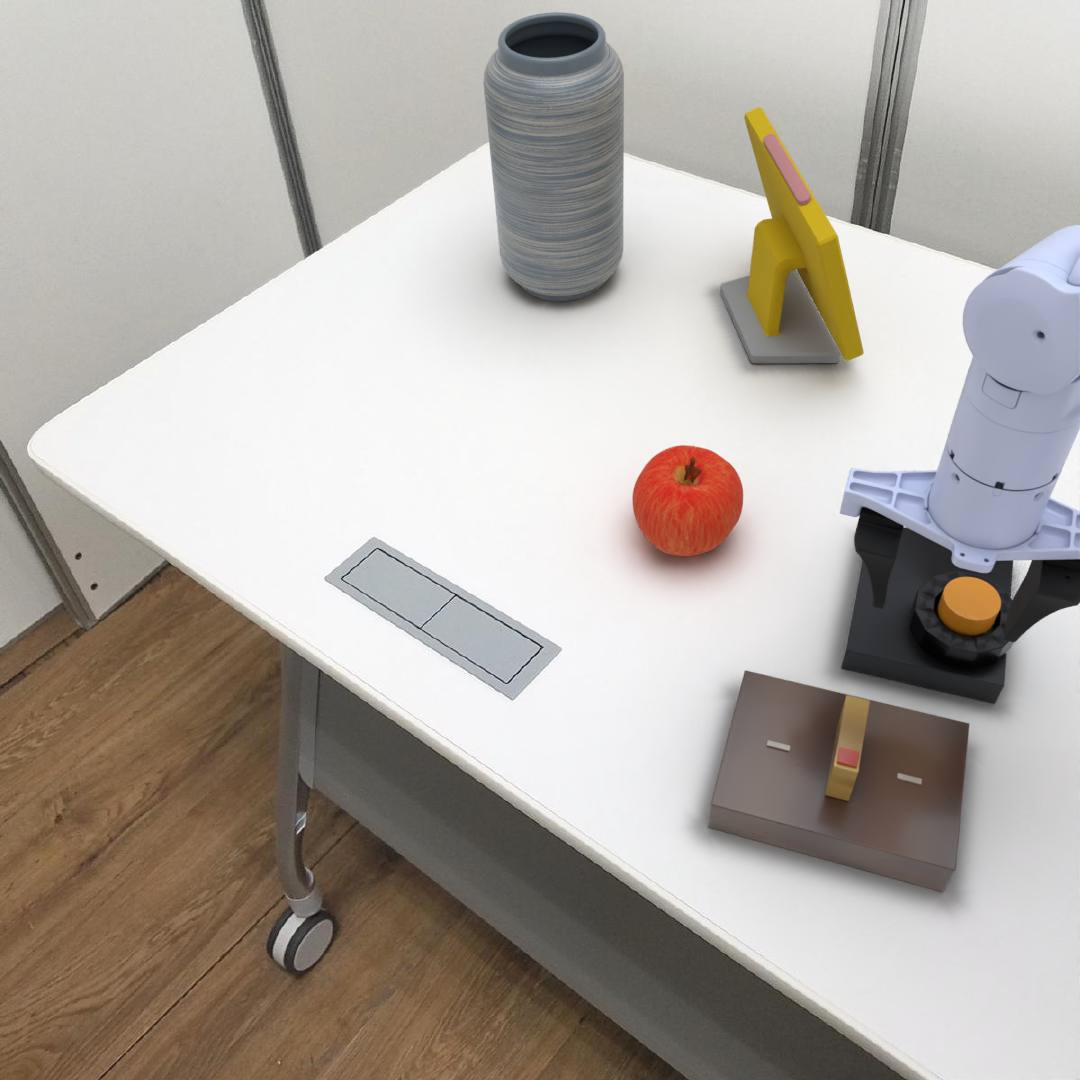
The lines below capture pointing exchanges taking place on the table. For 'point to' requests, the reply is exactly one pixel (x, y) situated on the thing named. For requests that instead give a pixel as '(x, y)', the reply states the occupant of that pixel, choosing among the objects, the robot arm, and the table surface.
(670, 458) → the apple
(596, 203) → the vase
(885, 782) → the lock plate
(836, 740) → the wooden block
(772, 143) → the toy computer monitor
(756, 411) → the table surface
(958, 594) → the bell button
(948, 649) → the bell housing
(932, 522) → the robot arm
